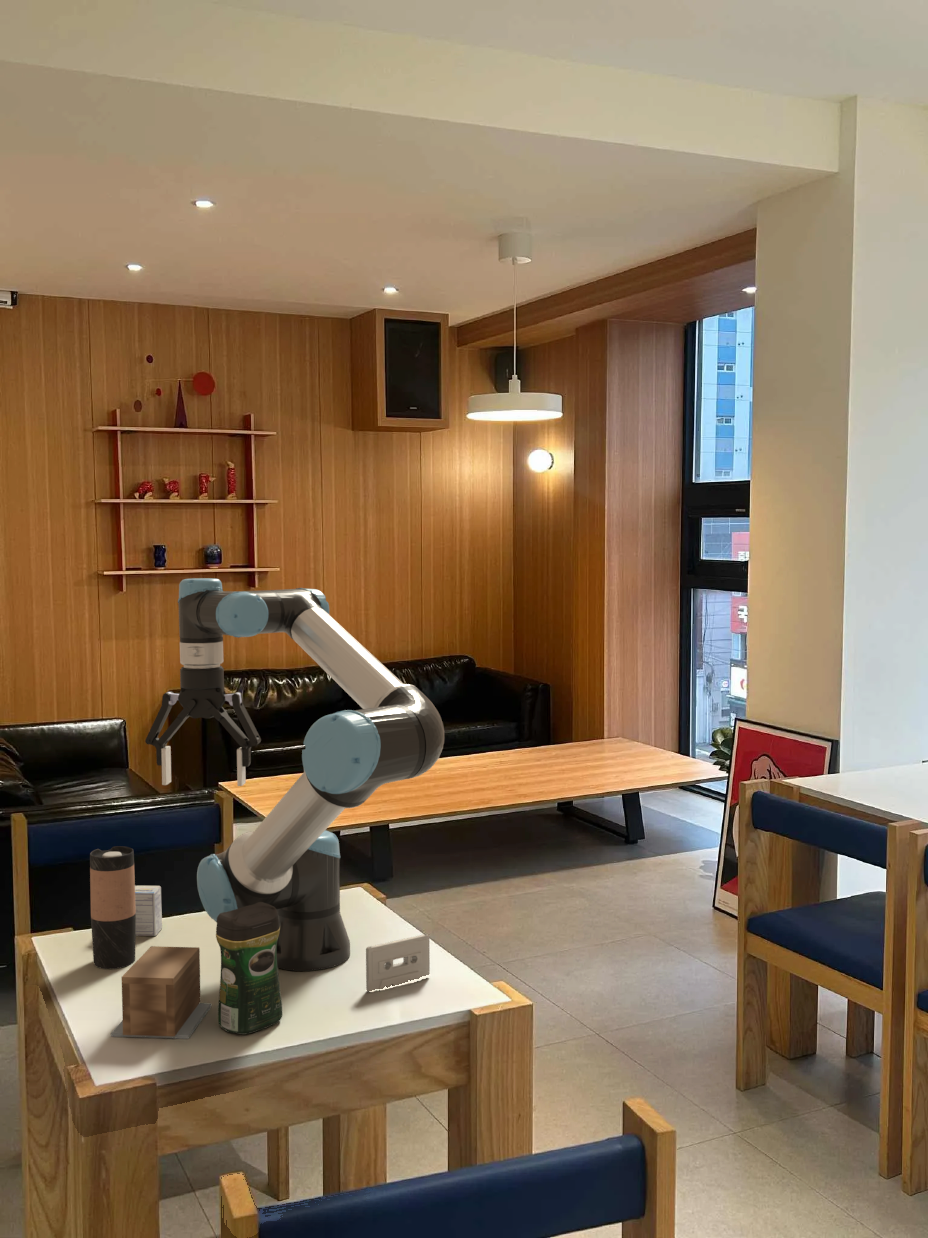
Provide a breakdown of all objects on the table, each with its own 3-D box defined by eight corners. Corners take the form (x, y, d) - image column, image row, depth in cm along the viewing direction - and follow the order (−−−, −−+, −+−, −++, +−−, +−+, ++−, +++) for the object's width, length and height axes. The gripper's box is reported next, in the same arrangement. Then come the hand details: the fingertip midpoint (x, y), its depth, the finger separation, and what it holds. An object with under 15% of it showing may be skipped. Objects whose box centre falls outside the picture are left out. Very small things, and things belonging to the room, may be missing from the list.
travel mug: (123, 971, 201) (121, 859, 200) (83, 968, 203) (80, 856, 201) (144, 955, 209) (141, 847, 207) (105, 952, 210) (103, 845, 209)
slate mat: (211, 1006, 186) (211, 1003, 186) (188, 1038, 174) (188, 1035, 174) (139, 1004, 187) (139, 1001, 187) (111, 1036, 175) (111, 1033, 175)
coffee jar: (260, 1007, 186) (258, 894, 185) (290, 1022, 180) (288, 905, 179) (208, 1025, 179) (206, 908, 178) (238, 1041, 174) (236, 920, 172)
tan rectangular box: (200, 1001, 187) (199, 947, 186) (174, 1036, 174) (173, 978, 173) (152, 1000, 188) (151, 946, 187) (122, 1035, 175) (121, 977, 174)
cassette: (369, 995, 191) (369, 950, 191) (364, 991, 193) (364, 946, 192) (431, 979, 198) (431, 936, 197) (425, 976, 199) (425, 932, 199)
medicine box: (162, 929, 223) (161, 885, 222) (155, 937, 219) (154, 892, 218) (122, 928, 223) (121, 885, 223) (114, 936, 219) (113, 892, 218)
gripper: (125, 667, 201) (128, 787, 203) (266, 668, 199) (267, 789, 201) (140, 662, 208) (143, 778, 210) (276, 663, 207) (278, 780, 208)
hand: (204, 784), depth 205 cm, fingers open, 13 cm apart
